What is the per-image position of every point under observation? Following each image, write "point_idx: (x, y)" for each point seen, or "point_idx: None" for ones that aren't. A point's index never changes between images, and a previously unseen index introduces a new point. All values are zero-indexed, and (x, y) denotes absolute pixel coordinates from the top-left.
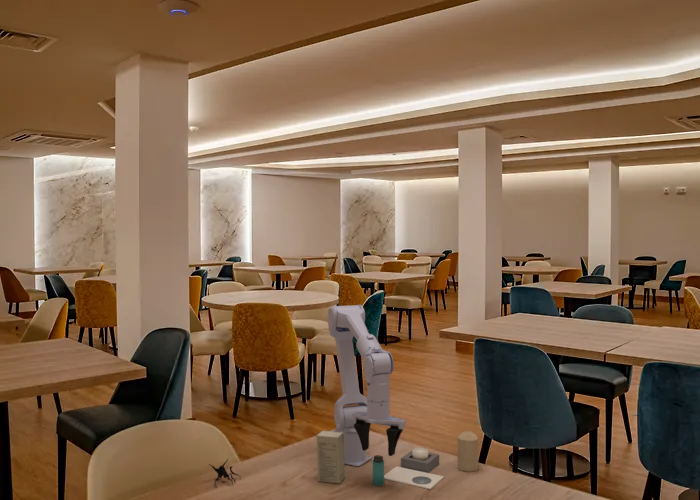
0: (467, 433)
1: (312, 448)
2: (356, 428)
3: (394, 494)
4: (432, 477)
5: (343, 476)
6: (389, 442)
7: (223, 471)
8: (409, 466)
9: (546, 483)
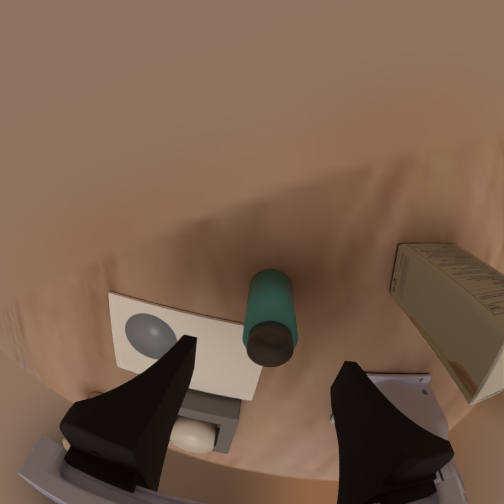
0: None
1: (457, 402)
2: (431, 440)
3: (188, 222)
4: (136, 358)
5: (395, 286)
6: (158, 380)
7: None
8: (213, 400)
9: (6, 352)
